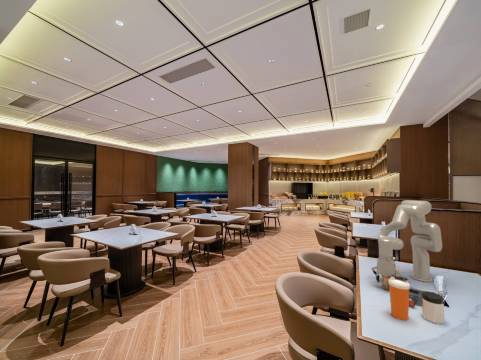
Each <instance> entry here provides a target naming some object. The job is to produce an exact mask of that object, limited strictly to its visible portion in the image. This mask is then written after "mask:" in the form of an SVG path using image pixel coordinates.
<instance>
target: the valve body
mask: <svg viewBox="0 0 481 360" xmlns="http://www.w3.org/2000/svg"><path fill="white" fill-rule="evenodd" d="M423 291H424V290H421V289H418V288H415V287H414V288H413V287H412V286H410V289H409V308H412V309H414V308H415V307H416V306H418V307H422V292H423Z"/></svg>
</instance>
